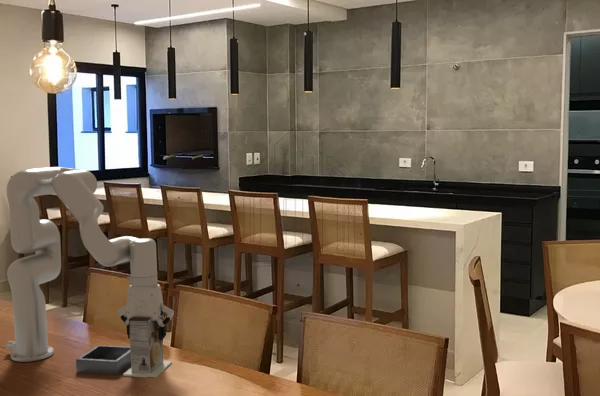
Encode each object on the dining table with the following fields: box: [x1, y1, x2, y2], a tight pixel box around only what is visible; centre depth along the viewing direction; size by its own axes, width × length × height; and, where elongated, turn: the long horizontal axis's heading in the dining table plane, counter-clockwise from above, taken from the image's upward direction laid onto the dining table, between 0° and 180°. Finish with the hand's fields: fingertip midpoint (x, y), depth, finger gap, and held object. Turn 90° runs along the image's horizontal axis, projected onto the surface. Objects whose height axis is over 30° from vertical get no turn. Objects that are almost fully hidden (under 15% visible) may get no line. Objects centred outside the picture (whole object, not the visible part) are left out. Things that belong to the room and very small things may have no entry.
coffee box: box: [129, 317, 164, 373], centre depth 194 cm, size 9×6×16 cm
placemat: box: [122, 360, 173, 379], centre depth 195 cm, size 10×12×1 cm
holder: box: [75, 344, 131, 376], centre depth 198 cm, size 13×13×4 cm
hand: (146, 337), depth 194 cm, fingers open, 9 cm apart
